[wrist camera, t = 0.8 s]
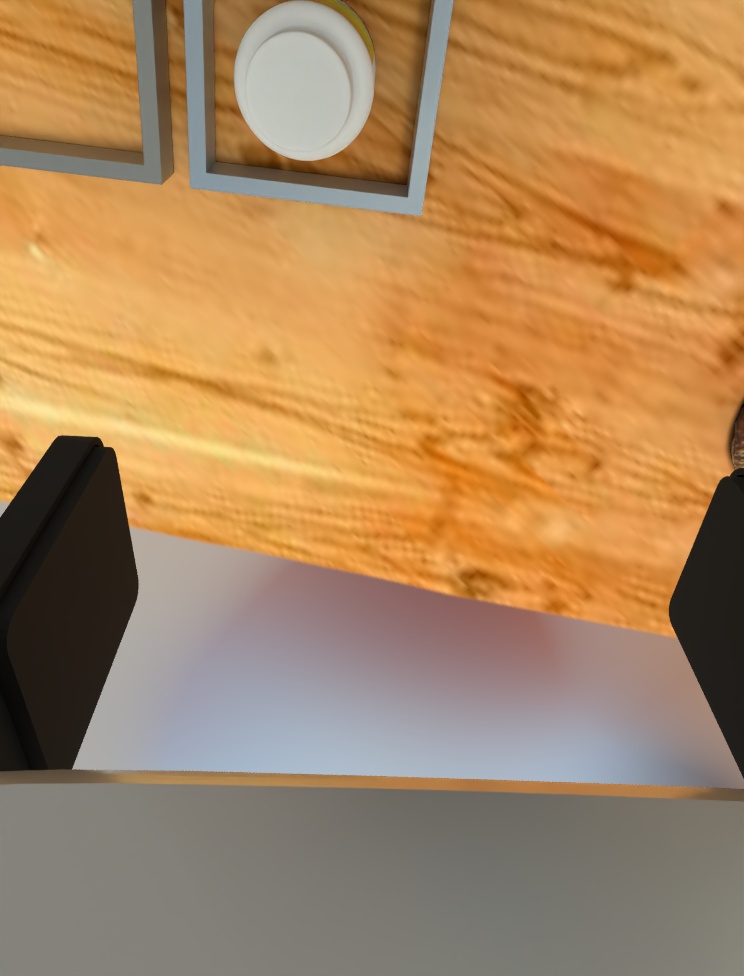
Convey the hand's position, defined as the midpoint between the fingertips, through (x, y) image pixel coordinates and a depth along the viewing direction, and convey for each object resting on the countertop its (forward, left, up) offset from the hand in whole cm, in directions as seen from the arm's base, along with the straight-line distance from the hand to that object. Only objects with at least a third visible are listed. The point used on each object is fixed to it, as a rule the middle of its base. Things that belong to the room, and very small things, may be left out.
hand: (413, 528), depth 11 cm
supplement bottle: (-3, -4, -31) cm, 32 cm away
